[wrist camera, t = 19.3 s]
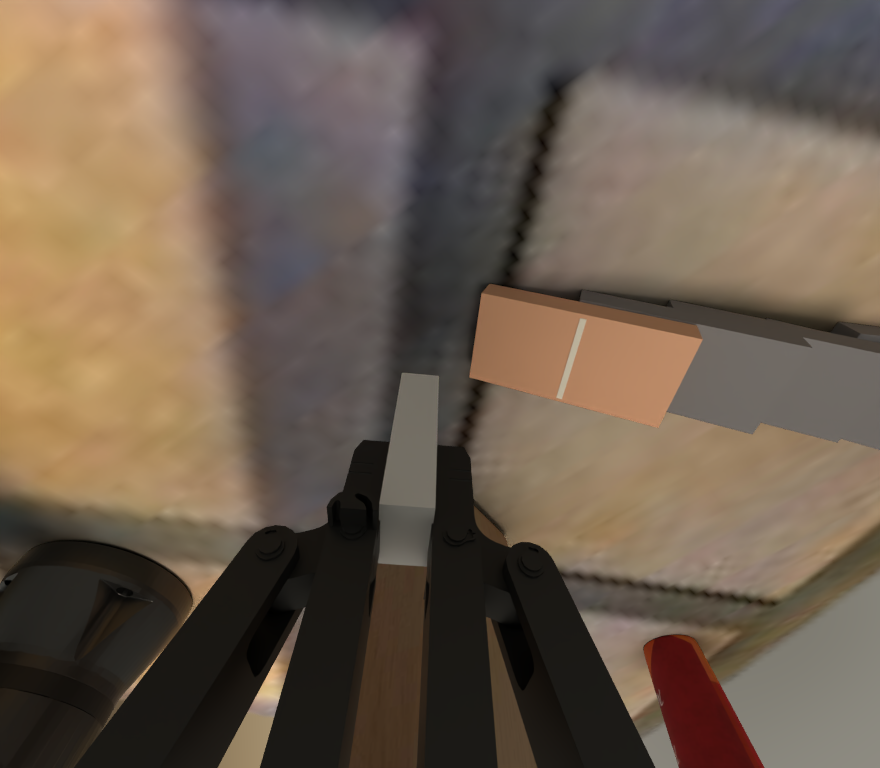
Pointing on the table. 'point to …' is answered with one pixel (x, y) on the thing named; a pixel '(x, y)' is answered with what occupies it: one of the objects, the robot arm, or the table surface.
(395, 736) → the wooden block
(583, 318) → the head domino
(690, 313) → the domino
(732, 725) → the paper cup
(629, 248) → the table surface
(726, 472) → the table surface
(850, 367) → the domino
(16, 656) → the robot arm
